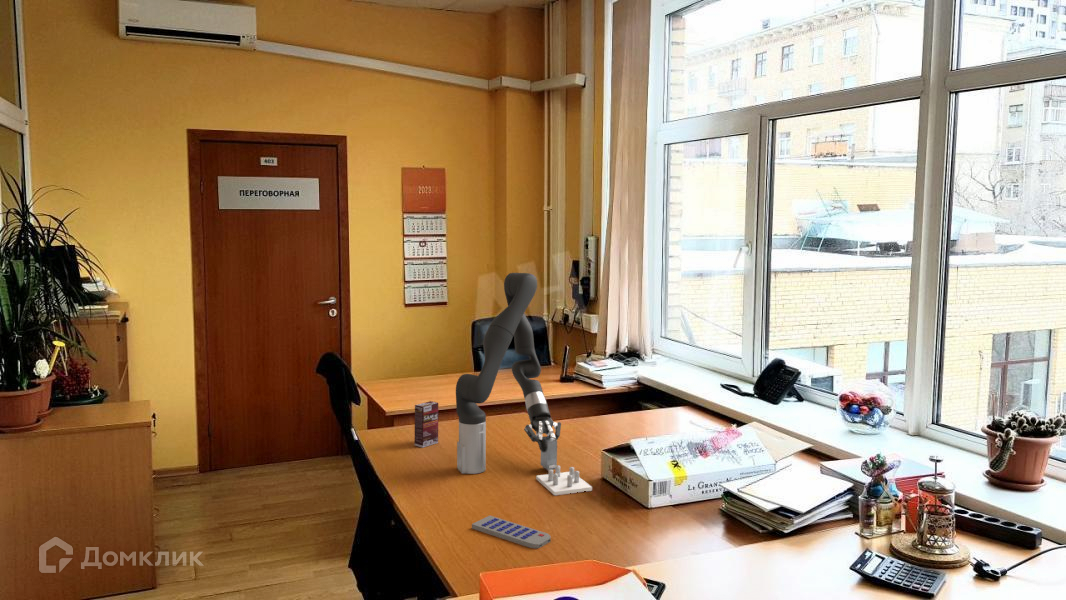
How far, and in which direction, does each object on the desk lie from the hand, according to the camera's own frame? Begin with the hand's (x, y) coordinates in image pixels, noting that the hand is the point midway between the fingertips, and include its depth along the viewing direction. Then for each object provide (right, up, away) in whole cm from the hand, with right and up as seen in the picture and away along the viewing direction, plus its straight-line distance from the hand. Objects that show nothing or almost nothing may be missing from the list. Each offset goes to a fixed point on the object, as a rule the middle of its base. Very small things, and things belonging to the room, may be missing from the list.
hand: (549, 450), depth 267 cm
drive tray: (+4, -9, -13) cm, 16 cm away
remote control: (-12, -14, -52) cm, 55 cm away
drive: (0, -6, +1) cm, 6 cm away
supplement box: (-46, -4, +29) cm, 55 cm away
